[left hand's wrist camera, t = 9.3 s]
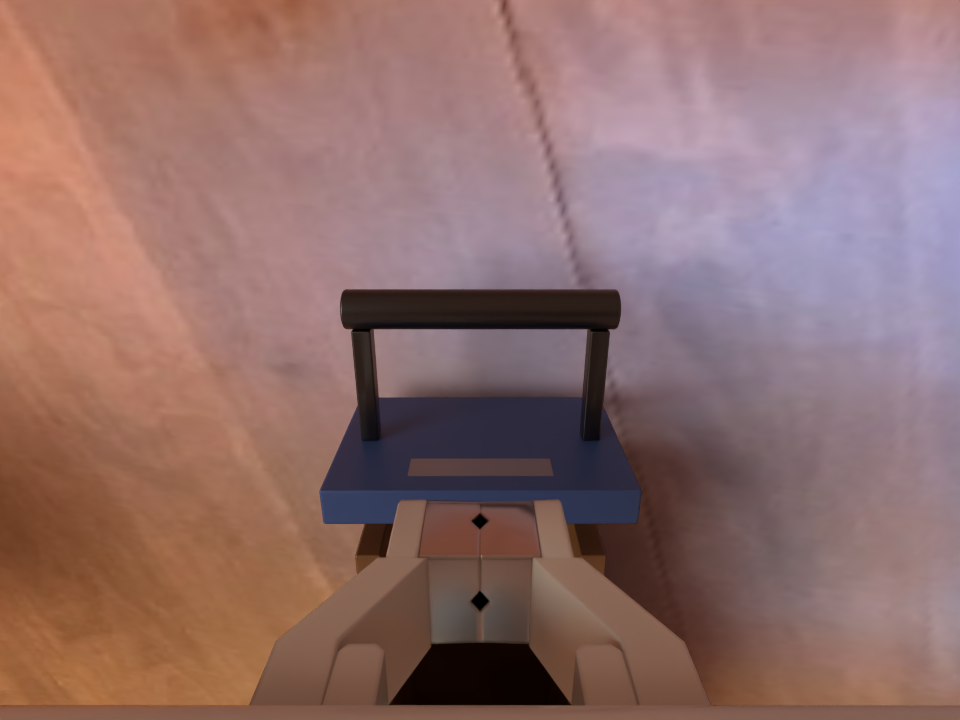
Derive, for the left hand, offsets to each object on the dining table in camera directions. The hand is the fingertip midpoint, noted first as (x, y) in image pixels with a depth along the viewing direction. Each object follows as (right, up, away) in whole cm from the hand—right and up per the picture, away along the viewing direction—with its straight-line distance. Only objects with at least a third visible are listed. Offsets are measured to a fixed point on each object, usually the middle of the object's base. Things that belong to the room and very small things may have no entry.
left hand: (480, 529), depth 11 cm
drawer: (0, -4, +14) cm, 14 cm away
